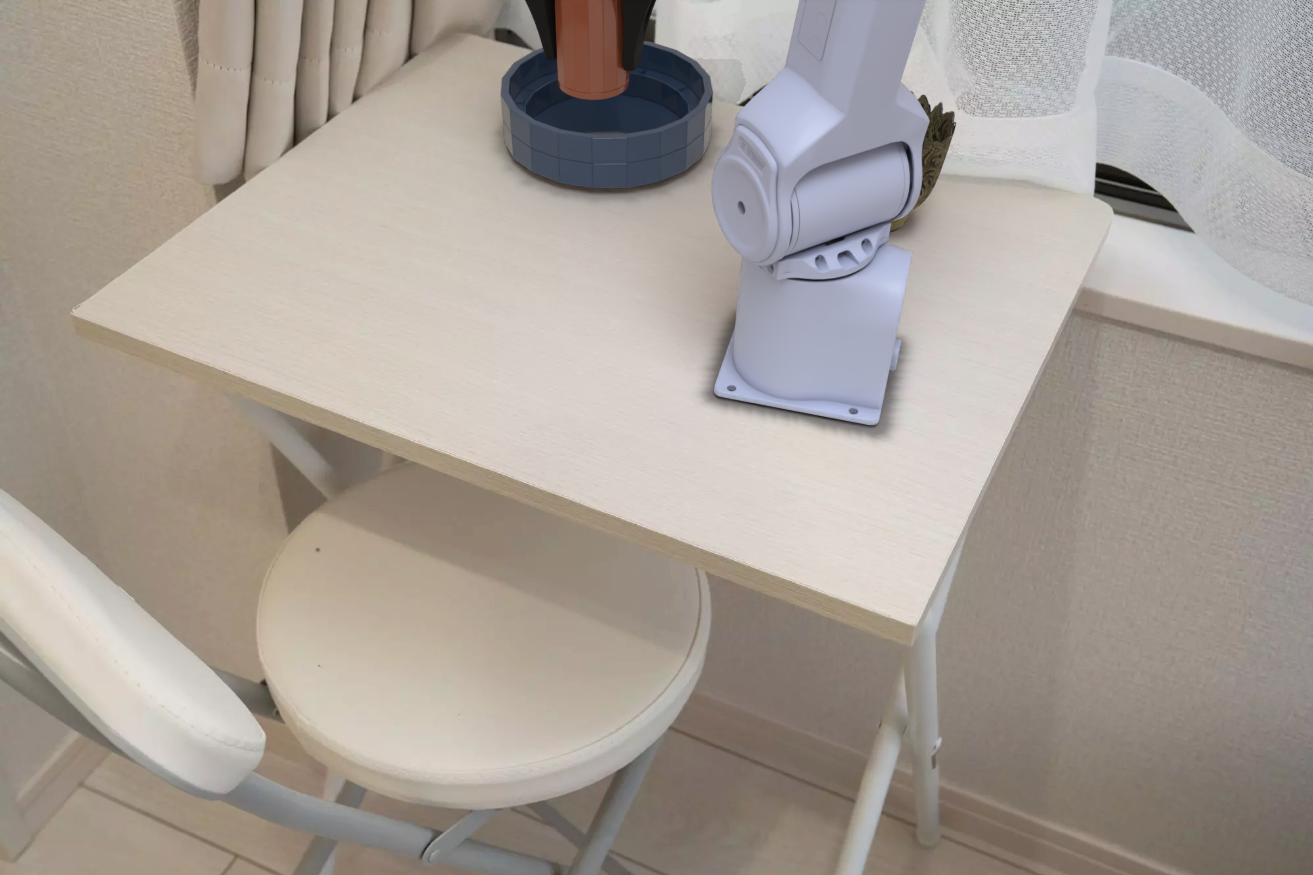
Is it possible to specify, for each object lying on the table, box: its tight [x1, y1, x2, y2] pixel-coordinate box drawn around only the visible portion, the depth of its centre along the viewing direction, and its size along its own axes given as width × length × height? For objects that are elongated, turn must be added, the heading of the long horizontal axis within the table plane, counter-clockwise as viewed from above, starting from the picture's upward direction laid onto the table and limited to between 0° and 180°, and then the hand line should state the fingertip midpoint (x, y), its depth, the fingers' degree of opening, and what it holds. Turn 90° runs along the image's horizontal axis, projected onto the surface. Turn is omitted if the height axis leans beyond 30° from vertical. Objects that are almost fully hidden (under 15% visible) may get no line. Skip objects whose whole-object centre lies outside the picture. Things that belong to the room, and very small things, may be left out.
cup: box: [554, 0, 630, 100], centre depth 77 cm, size 5×5×7 cm
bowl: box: [500, 40, 714, 189], centre depth 87 cm, size 15×15×4 cm
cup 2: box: [890, 90, 957, 232], centre depth 78 cm, size 8×7×8 cm
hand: (593, 58), depth 78 cm, fingers closed on cup, 5 cm apart
